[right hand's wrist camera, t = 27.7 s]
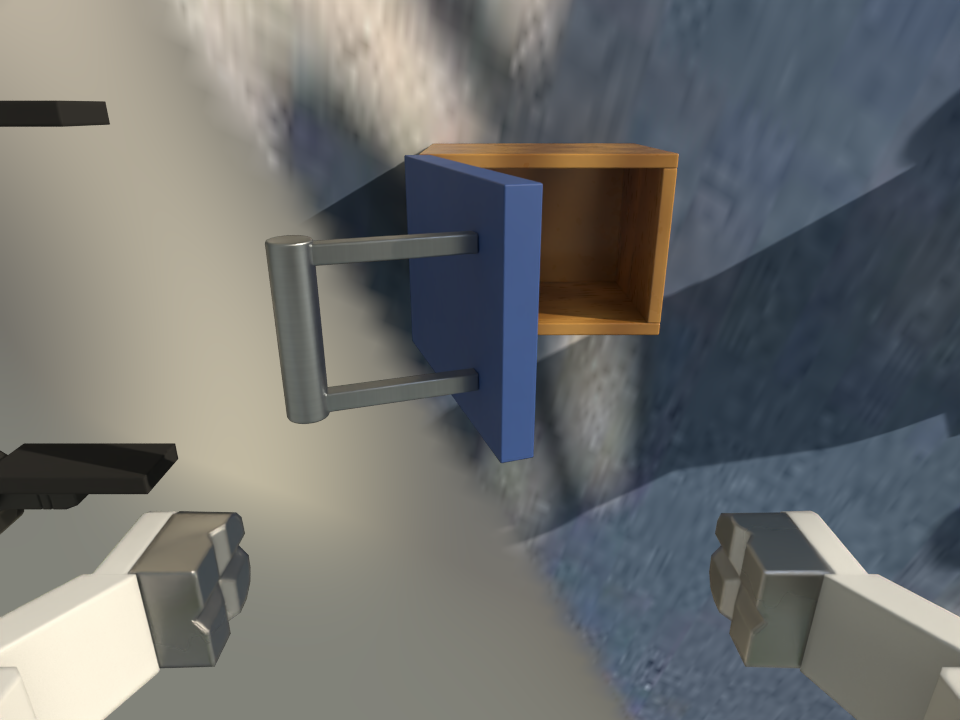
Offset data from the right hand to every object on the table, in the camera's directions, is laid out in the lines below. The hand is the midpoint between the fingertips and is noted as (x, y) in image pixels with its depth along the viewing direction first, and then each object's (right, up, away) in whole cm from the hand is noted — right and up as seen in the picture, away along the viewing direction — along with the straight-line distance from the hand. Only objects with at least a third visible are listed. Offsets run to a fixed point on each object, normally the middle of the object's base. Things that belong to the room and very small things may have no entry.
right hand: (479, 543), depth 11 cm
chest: (+3, +13, +32) cm, 34 cm away
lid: (0, +6, +16) cm, 17 cm away
